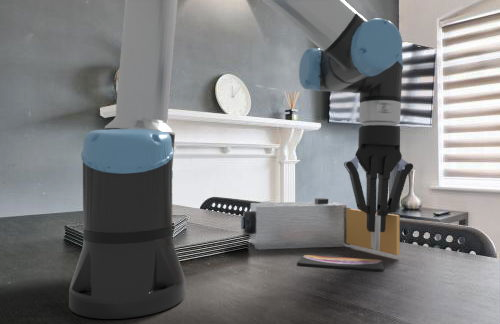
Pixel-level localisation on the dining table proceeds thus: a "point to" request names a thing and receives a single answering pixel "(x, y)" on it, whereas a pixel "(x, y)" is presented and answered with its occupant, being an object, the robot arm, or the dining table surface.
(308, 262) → the smartphone
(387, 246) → the side door
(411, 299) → the dining table surface
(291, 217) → the silver box with door
